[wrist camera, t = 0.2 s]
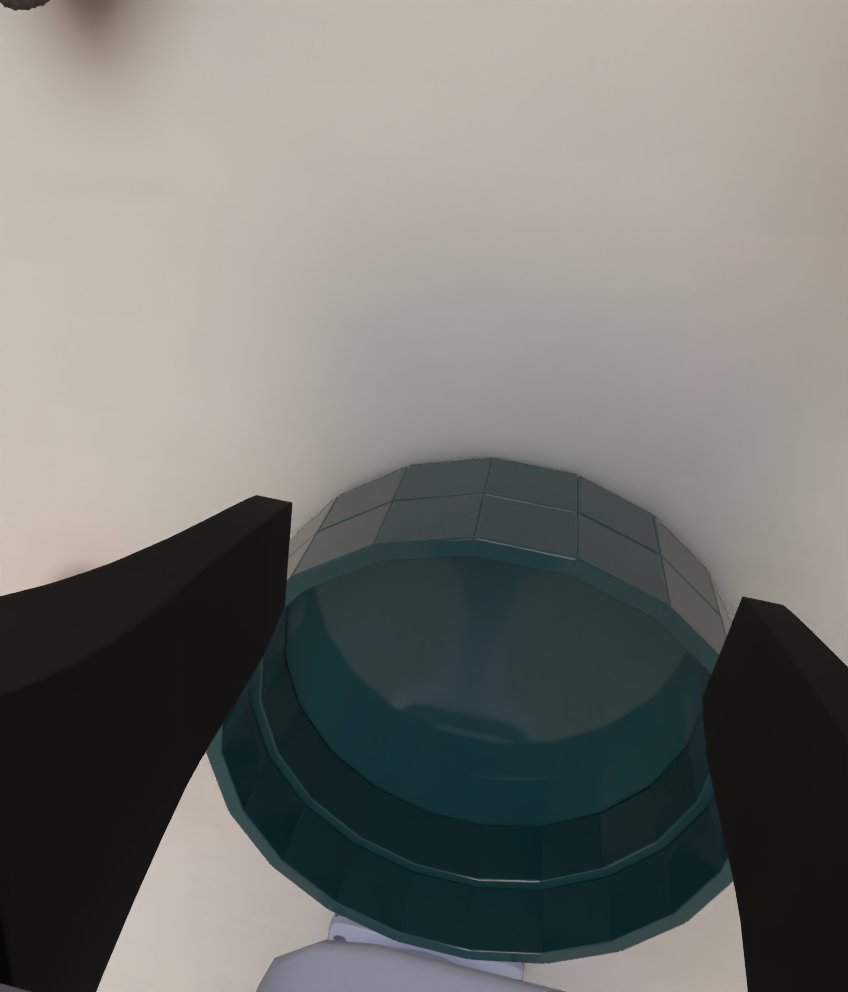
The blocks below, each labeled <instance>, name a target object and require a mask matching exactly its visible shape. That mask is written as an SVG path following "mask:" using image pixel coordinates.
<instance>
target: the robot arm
mask: <svg viewBox="0 0 848 992" xmlns="http://www.w3.org/2000/svg"><path fill="white" fill-rule="evenodd" d="M291 514H292V503H291V502H287V501H282V500H277V499H272V498H267V497H263V496H258V495H256V496H253V497H251V498H248V499H246V500H244V501H242V502H240V503H238V504H236V505H234V506H232V507H230V508H228V509H226V510H224V511H222V512H220V513H218V514H216V515H214V516H212V517H210V518H208V519H206V520H204V521H202V522H200V523H198V524H196V525H194V526H192V527H190V528H188V529H186V530H184V531H182V532H180V533H178V534H176V535H174V536H172V537H170V538H168V539H166V540H163V541H161V542H159V543H156V544H154V545H152V546H150V547H147V548H145V549H143V550H140V551H138V552H136V553H133V554H131V555H129V556H127V557H124V558H122V559H120V560H117V561H115V562H112V563H110V564H107V565H104V566H102V567H99V568H96V569H93V570H91V571H88V572H85V573H82V574H79V575H76V576H73V577H69V578H66V579H63V580H60V581H57V582H54V583H50V584H47V585H44V586H40V587H36V588H32V589H28V590H24V591H20V592H16V593H12V594H8V595H4V596H0V992H96V991H97V988H98V986H99V983H100V981H101V978H102V976H103V973H104V971H105V968H106V966H107V964H108V961H109V959H110V957H111V954H112V952H113V950H114V947H115V945H116V942H117V940H118V938H119V935H120V933H121V931H122V928H123V926H124V923H125V921H126V919H127V916H128V914H129V912H130V909H131V907H132V904H133V902H134V900H135V897H136V895H137V893H138V891H139V889H140V886H141V884H142V882H143V880H144V877H145V875H146V873H147V871H148V868H149V866H150V864H151V862H152V859H153V857H154V855H155V853H156V850H157V848H158V846H159V844H160V841H161V839H162V837H163V835H164V833H165V831H166V829H167V826H168V824H169V822H170V820H171V818H172V816H173V814H174V811H175V809H176V807H177V805H178V803H179V801H180V799H181V796H182V794H183V792H184V790H185V788H186V786H187V784H188V782H189V780H190V778H191V777H192V775H193V773H194V771H195V769H196V767H197V766H198V764H199V762H200V760H201V759H202V757H203V755H204V754H205V752H206V750H207V749H208V747H209V745H210V744H211V742H212V740H213V739H214V737H215V736H216V734H217V732H218V731H219V729H220V727H221V726H222V724H223V722H224V721H225V719H226V717H227V716H228V714H229V713H230V711H231V709H232V708H233V706H234V704H235V703H236V701H237V699H238V698H239V696H240V695H241V693H242V691H243V690H244V688H245V686H246V685H247V683H248V681H249V680H250V678H251V676H252V675H253V673H254V671H255V669H256V668H257V666H258V664H259V663H260V661H261V659H262V658H263V656H264V654H265V652H266V649H267V647H268V645H269V642H270V640H271V638H272V636H273V633H274V631H275V629H276V626H277V624H278V621H279V619H280V617H281V614H282V612H283V609H284V607H285V599H286V585H287V570H288V556H289V542H290V528H291ZM702 701H703V721H704V736H705V748H706V757H707V762H708V767H709V772H710V777H711V782H712V786H713V791H714V796H715V800H716V805H717V810H718V814H719V819H720V823H721V828H722V832H723V837H724V841H725V846H726V850H727V855H728V859H729V864H730V868H731V873H732V877H733V882H734V886H735V892H736V897H737V903H738V909H739V915H740V921H741V930H742V940H743V949H744V958H745V968H746V977H747V986H748V992H848V667H847V666H846V665H845V664H844V663H843V662H842V661H841V660H840V659H839V658H838V657H837V656H836V655H835V654H834V653H833V652H832V651H831V650H830V649H829V648H828V647H827V646H826V645H825V644H824V643H823V642H822V641H821V640H820V639H819V638H818V637H817V636H816V635H815V634H814V633H813V632H812V631H811V630H810V629H809V628H808V627H807V626H806V625H805V624H804V623H803V622H802V621H801V620H800V619H799V618H798V617H796V616H795V615H794V614H793V613H792V612H791V611H790V610H788V609H787V608H786V607H785V606H784V605H781V604H776V603H771V602H766V601H762V600H757V599H752V598H747V597H742V599H741V602H740V604H739V607H738V609H737V612H736V614H735V617H734V619H733V622H732V624H731V627H730V629H729V632H728V634H727V637H726V639H725V642H724V644H723V647H722V649H721V652H720V654H719V657H718V659H717V662H716V664H715V667H714V669H713V672H712V674H711V677H710V679H709V682H708V684H707V687H706V689H705V692H704V694H703V697H702ZM523 974H524V966H523V964H522V963H519V962H499V961H480V960H470V959H464V958H460V957H456V956H452V955H448V954H444V953H440V952H436V951H432V950H428V949H424V948H420V947H416V946H412V945H408V944H404V943H400V942H397V941H394V940H392V939H389V938H387V937H385V936H383V935H381V934H379V933H377V932H375V931H373V930H370V929H368V928H366V927H364V926H362V925H360V924H358V923H356V922H354V921H351V920H349V919H347V918H345V917H343V916H336V917H334V918H333V919H332V921H331V924H330V927H329V934H328V940H324V941H321V942H318V943H315V944H312V945H309V946H307V947H304V948H301V949H298V950H295V951H292V952H289V953H287V954H284V955H281V956H279V957H276V958H274V960H273V962H272V963H271V965H270V967H269V969H268V970H267V972H266V974H265V976H264V977H263V979H262V981H261V983H260V984H259V986H258V988H257V991H256V992H565V991H561V990H557V989H553V988H549V987H545V986H541V985H537V984H533V983H529V982H525V981H522V979H523Z"/></svg>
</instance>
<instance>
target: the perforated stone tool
mask: <svg viewBox="0 0 848 992" xmlns="http://www.w3.org/2000/svg"><path fill="white" fill-rule="evenodd" d="M48 1H50V0H0V2H1V3H2V4H3V5H4V7H8V8H11V9H13V10H18V9H20V10H30V9H31V8H36V7H38V6H44V5H45V3H47V2H48Z"/></svg>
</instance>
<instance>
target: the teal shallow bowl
mask: <svg viewBox="0 0 848 992" xmlns="http://www.w3.org/2000/svg"><path fill="white" fill-rule="evenodd" d="M731 624H732V623H731V621H730V618H729V616H728V614H727V611H726V609H725V607H724V605H723V602H722V600H721V598H720V595H719V593H718V591H717V589H716V586H715V584H714V582H713V580H712V577H711V575H710V573H709V572H708V570H707V569H706V568H705V567H704V566H703V565H702V564H701V563H700V562H699V561H698V560H697V559H696V558H695V556H694V555H693V554H692V553H691V552H690V551H689V550H688V549H687V548H686V547H685V546H684V545H683V544H682V543H681V542H680V541H679V540H678V539H677V538H676V537H675V536H674V535H673V534H672V533H671V532H670V531H669V530H668V529H667V528H666V527H665V526H664V525H663V524H662V523H661V522H660V521H659V520H658V519H657V518H656V516H654V515H652V514H651V513H649V512H647V511H645V510H643V509H641V508H639V507H637V506H636V505H634V504H632V503H630V502H628V501H626V500H624V499H622V498H620V497H618V496H616V495H615V494H613V493H611V492H609V491H607V490H605V489H603V488H601V487H599V486H597V485H596V484H594V483H592V482H590V481H588V480H586V479H584V478H582V477H580V476H578V477H577V474H573V473H568V472H563V471H558V470H552V469H547V468H542V467H537V466H532V465H527V464H522V463H517V462H512V461H507V460H502V459H496V458H483V459H472V460H461V461H451V462H440V463H429V464H419V465H410V466H409V467H405V468H402V469H400V470H397V471H395V472H393V473H390V474H388V475H386V476H383V477H381V478H379V479H376V480H374V481H372V482H369V483H367V484H364V485H362V486H360V487H357V488H355V489H353V490H350V491H348V492H346V493H343V494H341V495H340V496H339V497H336V498H335V499H334V500H333V501H332V502H331V503H330V504H329V505H327V506H326V507H325V508H324V509H323V510H322V511H321V512H320V513H319V514H318V515H317V516H316V517H315V518H313V519H312V520H311V521H310V522H309V523H308V524H307V525H306V526H305V527H304V528H303V529H302V530H300V531H299V532H298V533H297V534H296V535H295V536H294V537H293V538H292V539H291V540H290V542H289V556H288V570H287V585H286V599H285V607H284V609H283V612H282V614H281V617H280V619H279V621H278V624H277V626H276V629H275V631H274V633H273V636H272V638H271V640H270V642H269V645H268V647H267V649H266V652H265V654H264V656H263V658H262V659H261V661H260V663H259V664H258V666H257V668H256V669H255V671H254V673H253V675H252V676H251V678H250V680H249V681H248V683H247V685H246V686H245V688H244V690H243V691H242V693H241V695H240V696H239V698H238V699H237V701H236V703H235V704H234V706H233V708H232V709H231V711H230V713H229V714H228V716H227V717H226V719H225V721H224V722H223V724H222V726H221V727H220V729H219V731H218V732H217V734H216V736H215V737H214V739H213V740H212V742H211V744H210V745H209V747H208V749H207V750H206V751H207V752H206V753H207V756H208V758H209V761H210V764H211V766H212V769H213V772H214V774H215V777H216V780H217V782H218V785H219V787H220V790H221V793H222V795H223V798H224V801H225V803H226V806H227V808H228V811H229V812H230V814H231V815H232V817H233V818H234V819H235V820H236V822H237V823H238V824H239V825H240V827H241V828H242V829H243V831H244V832H245V833H246V834H247V836H248V837H249V838H250V839H251V841H252V842H253V843H254V845H255V846H256V847H257V848H258V850H259V851H260V852H261V853H262V855H263V856H264V857H265V858H266V860H267V861H268V862H269V864H270V865H272V867H274V868H275V869H276V870H277V871H279V872H280V873H281V874H283V875H284V876H285V877H287V878H288V879H289V880H290V881H292V882H293V883H294V884H296V885H297V886H298V887H300V888H301V889H302V890H303V891H305V892H306V893H307V894H309V895H310V896H311V897H313V898H314V899H315V900H316V901H318V902H319V903H320V904H322V905H323V906H324V907H326V908H327V909H329V910H330V911H332V912H335V913H337V914H339V915H341V916H343V917H345V918H347V919H349V920H351V921H354V922H356V923H358V924H360V925H362V926H364V927H366V928H368V929H370V930H373V931H375V932H377V933H379V934H381V935H383V936H385V937H387V938H389V939H392V940H394V941H397V942H400V943H404V944H408V945H412V946H416V947H420V948H424V949H428V950H432V951H436V952H440V953H444V954H448V955H452V956H456V957H460V958H464V959H470V960H480V961H499V962H519V963H539V964H545V963H554V962H560V961H566V960H572V959H578V958H584V957H590V956H597V955H603V954H609V953H615V952H619V951H623V950H625V949H627V948H630V947H632V946H634V945H636V944H639V943H641V942H643V941H646V940H648V939H650V938H652V937H655V936H657V935H659V934H662V933H664V932H666V931H668V930H671V929H673V928H675V927H678V926H680V925H682V924H684V923H685V922H688V921H689V920H690V919H691V918H692V917H693V916H694V915H696V914H697V913H698V912H699V911H700V910H701V909H702V908H704V907H705V906H706V905H707V904H708V903H709V902H710V901H711V900H713V899H714V898H715V897H716V896H717V895H718V894H719V893H721V892H722V891H723V890H724V889H725V888H726V887H727V886H728V885H730V884H731V883H732V882H733V877H732V873H731V868H730V864H729V859H728V855H727V850H726V846H725V841H724V837H723V832H722V828H721V823H720V819H719V814H718V810H717V805H716V800H715V796H714V791H713V786H712V782H711V777H710V772H709V767H708V762H707V757H706V748H705V736H704V721H703V701H702V697H703V694H704V692H705V689H706V687H707V684H708V682H709V679H710V677H711V674H712V672H713V669H714V667H715V664H716V662H717V659H718V657H719V654H720V652H721V649H722V647H723V644H724V642H725V639H726V637H727V634H728V632H729V629H730V627H731Z"/></svg>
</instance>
